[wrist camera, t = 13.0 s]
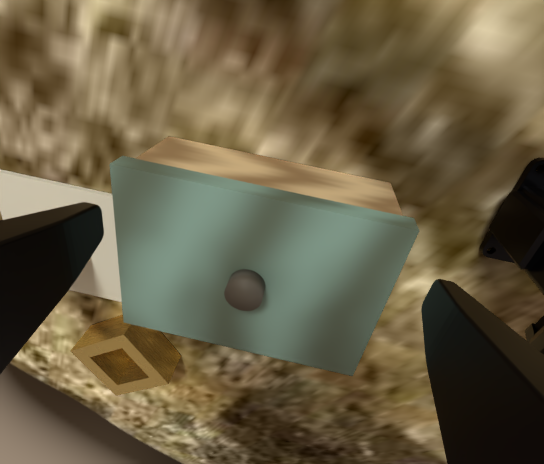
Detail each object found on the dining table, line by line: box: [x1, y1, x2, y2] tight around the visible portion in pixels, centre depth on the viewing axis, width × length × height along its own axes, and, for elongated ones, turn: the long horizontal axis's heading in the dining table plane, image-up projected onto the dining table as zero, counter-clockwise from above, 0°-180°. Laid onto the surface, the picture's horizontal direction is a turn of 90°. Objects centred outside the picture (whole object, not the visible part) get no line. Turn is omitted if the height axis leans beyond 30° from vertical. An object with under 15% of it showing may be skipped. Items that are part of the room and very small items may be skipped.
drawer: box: [110, 136, 419, 376], centre depth 21 cm, size 15×11×7 cm
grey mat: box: [0, 169, 122, 302], centre depth 27 cm, size 10×10×1 cm
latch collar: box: [71, 315, 181, 396], centre depth 31 cm, size 6×6×3 cm
